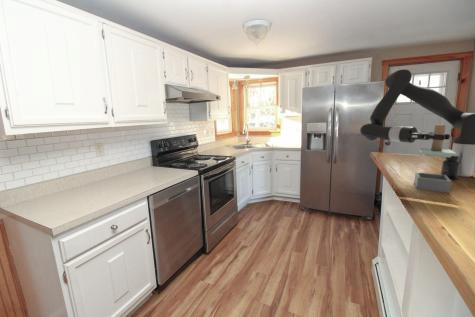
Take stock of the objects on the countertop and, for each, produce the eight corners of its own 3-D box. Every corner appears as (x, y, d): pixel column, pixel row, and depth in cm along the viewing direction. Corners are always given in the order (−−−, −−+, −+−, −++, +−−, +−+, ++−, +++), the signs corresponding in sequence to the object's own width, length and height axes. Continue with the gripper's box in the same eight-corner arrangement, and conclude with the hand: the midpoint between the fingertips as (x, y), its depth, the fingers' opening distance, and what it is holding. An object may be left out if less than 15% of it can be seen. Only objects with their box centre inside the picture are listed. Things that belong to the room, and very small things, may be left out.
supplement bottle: (461, 180, 116) (465, 157, 114) (445, 179, 117) (449, 156, 115) (451, 176, 123) (455, 154, 120) (436, 176, 124) (440, 154, 122)
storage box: (413, 184, 111) (415, 172, 110) (443, 187, 105) (446, 175, 104) (416, 190, 102) (417, 177, 101) (449, 195, 96) (451, 181, 95)
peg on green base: (418, 152, 108) (422, 124, 105) (449, 154, 102) (454, 124, 99) (421, 155, 99) (425, 125, 96) (455, 158, 93) (461, 125, 90)
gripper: (394, 127, 107) (439, 129, 92) (411, 125, 114) (456, 127, 99) (393, 143, 109) (437, 147, 94) (409, 140, 115) (453, 144, 100)
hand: (446, 137), depth 96 cm, fingers closed on peg on green base, 3 cm apart
